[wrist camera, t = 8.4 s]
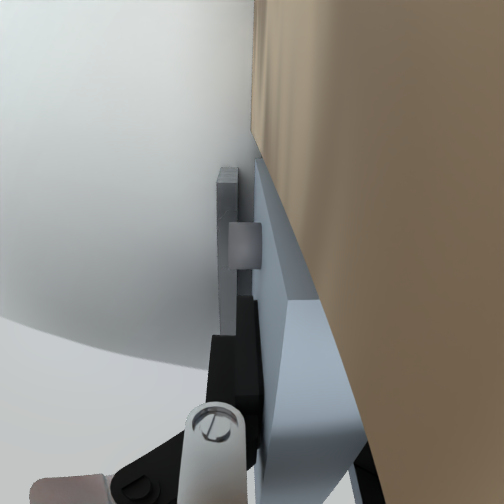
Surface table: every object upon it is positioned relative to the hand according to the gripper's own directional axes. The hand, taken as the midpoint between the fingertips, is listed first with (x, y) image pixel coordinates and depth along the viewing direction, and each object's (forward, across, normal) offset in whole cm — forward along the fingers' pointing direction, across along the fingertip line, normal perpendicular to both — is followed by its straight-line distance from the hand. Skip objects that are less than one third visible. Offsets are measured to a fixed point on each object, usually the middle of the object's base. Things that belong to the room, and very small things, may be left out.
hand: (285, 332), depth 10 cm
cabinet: (+7, -7, -12) cm, 15 cm away
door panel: (+4, 0, 0) cm, 4 cm away
